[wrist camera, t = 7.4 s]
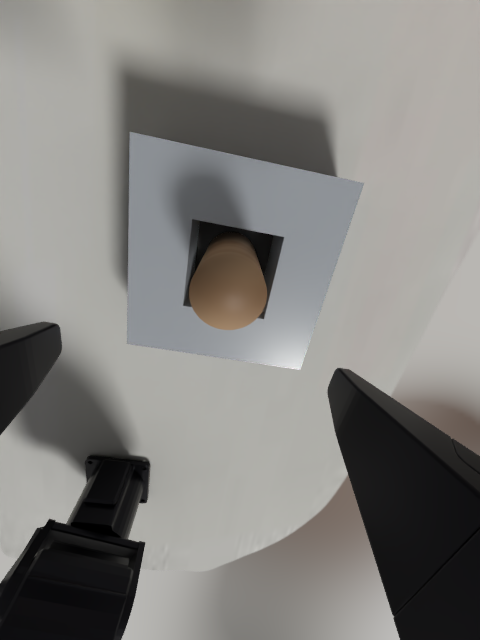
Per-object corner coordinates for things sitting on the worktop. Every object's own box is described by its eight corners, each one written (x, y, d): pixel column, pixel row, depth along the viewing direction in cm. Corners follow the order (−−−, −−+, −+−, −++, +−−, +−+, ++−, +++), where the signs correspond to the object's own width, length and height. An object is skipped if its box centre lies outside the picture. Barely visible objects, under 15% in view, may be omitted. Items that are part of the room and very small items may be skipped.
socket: (290, 341, 23) (300, 369, 19) (145, 318, 22) (126, 343, 18) (338, 184, 18) (363, 183, 14) (152, 144, 17) (129, 131, 13)
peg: (250, 285, 21) (257, 335, 13) (203, 276, 20) (185, 323, 13) (260, 236, 19) (275, 264, 12) (210, 227, 19) (193, 249, 12)
